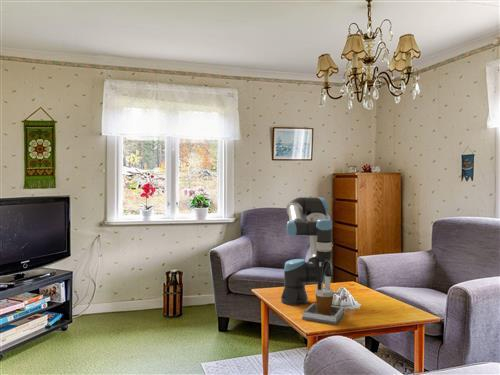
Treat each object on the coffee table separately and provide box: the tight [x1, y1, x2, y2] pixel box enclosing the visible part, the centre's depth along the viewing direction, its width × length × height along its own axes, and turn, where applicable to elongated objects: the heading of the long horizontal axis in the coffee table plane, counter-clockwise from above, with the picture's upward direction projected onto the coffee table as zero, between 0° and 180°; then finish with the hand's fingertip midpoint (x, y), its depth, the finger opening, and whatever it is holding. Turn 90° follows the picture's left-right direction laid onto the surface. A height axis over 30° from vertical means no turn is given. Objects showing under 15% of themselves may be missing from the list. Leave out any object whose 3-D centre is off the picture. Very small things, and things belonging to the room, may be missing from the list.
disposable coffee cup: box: [314, 287, 335, 315], centre depth 202 cm, size 10×10×12 cm
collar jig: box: [301, 302, 345, 326], centre depth 202 cm, size 17×17×4 cm
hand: (323, 292), depth 202 cm, fingers open, 13 cm apart
